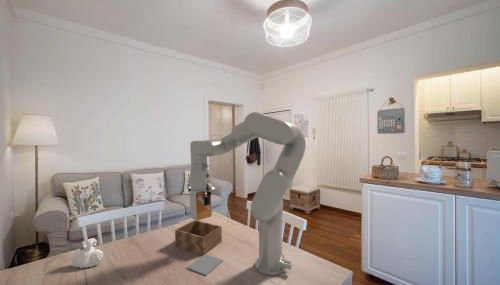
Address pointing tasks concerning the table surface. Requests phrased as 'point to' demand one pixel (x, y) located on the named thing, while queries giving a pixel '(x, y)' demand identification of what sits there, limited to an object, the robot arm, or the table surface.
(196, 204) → the small box
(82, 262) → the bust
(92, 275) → the table surface
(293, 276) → the table surface
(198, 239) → the wooden cubby frame
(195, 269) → the pad
